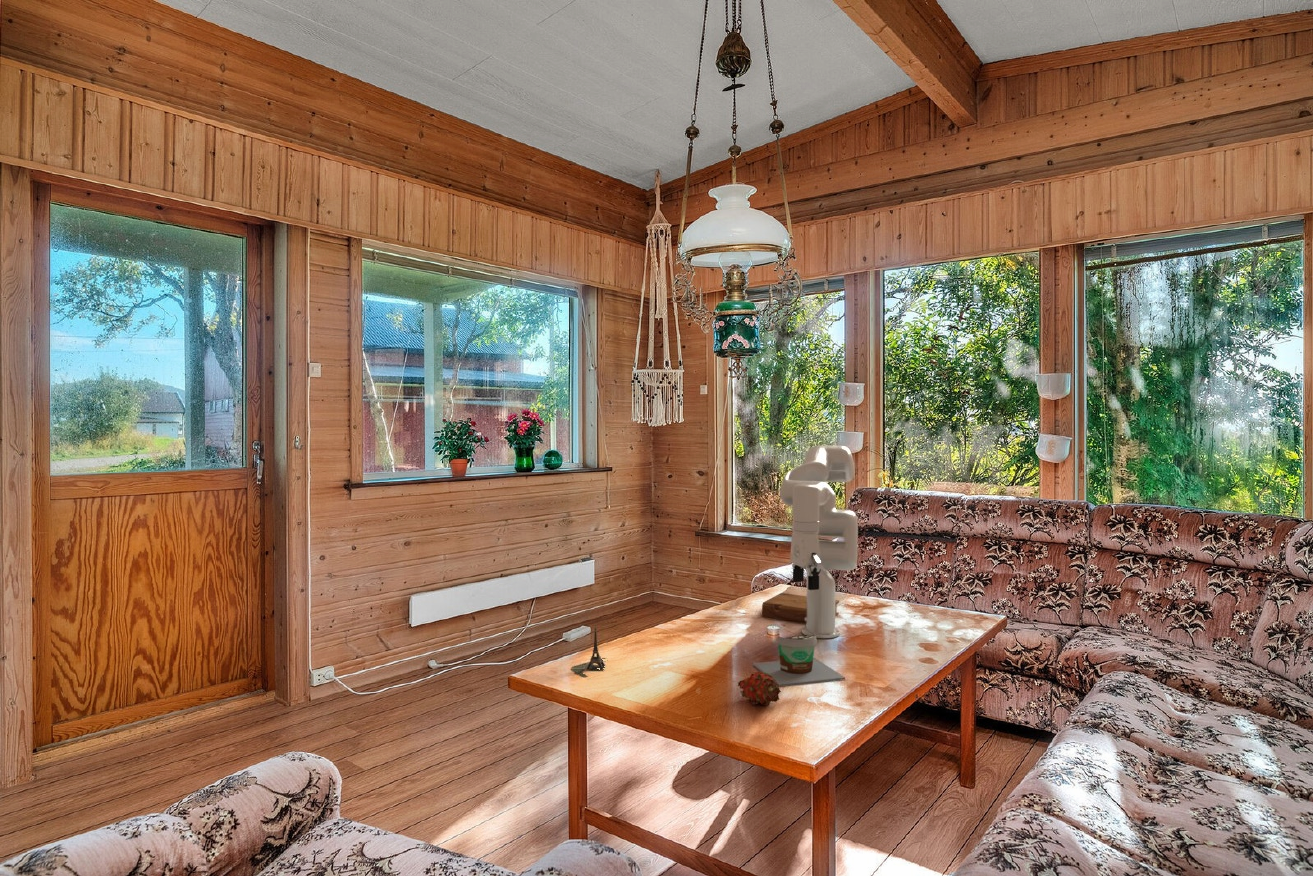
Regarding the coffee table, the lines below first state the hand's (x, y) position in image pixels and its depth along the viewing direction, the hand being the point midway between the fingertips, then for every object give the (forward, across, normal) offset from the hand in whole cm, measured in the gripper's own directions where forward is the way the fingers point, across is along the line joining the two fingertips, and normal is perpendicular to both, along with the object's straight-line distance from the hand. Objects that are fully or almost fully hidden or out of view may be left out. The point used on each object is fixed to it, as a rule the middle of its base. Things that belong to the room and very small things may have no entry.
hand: (805, 585), depth 212 cm
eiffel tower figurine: (+25, -18, -59) cm, 66 cm away
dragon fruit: (+24, +20, -23) cm, 39 cm away
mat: (+24, +2, -3) cm, 25 cm away
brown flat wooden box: (+26, -55, +25) cm, 66 cm away
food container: (+24, +3, -3) cm, 24 cm away
